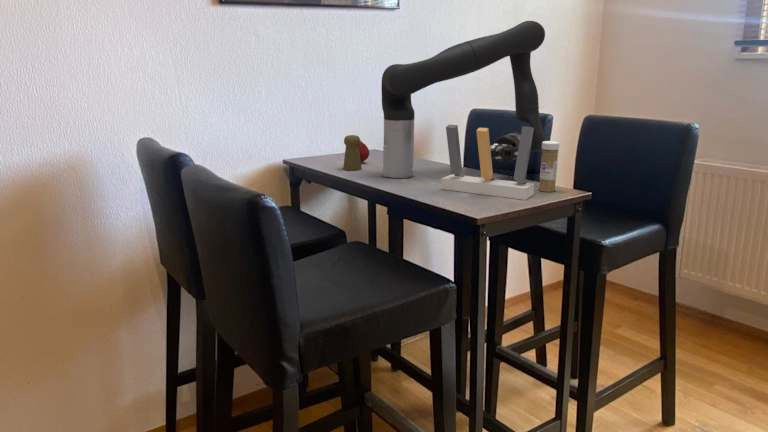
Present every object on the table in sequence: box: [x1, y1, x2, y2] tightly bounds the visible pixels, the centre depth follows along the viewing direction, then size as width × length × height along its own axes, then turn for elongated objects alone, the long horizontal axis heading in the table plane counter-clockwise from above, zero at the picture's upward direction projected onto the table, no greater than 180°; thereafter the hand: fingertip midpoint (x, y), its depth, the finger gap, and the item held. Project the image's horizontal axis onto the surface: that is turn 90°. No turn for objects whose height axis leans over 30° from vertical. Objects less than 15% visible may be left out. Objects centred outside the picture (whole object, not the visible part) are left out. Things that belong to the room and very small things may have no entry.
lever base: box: [440, 174, 535, 201], centre depth 162 cm, size 24×7×3 cm, turn 58°
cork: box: [342, 134, 363, 172], centre depth 192 cm, size 6×6×11 cm
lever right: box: [513, 125, 534, 184], centre depth 157 cm, size 3×2×15 cm
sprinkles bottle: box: [538, 140, 560, 193], centre depth 163 cm, size 5×5×14 cm
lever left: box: [445, 124, 463, 177], centre depth 163 cm, size 3×2×15 cm
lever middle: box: [476, 127, 494, 180], centre depth 158 cm, size 3×2×15 cm
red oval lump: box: [359, 139, 370, 164], centre depth 203 cm, size 6×6×8 cm
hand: (487, 155), depth 159 cm, fingers closed
